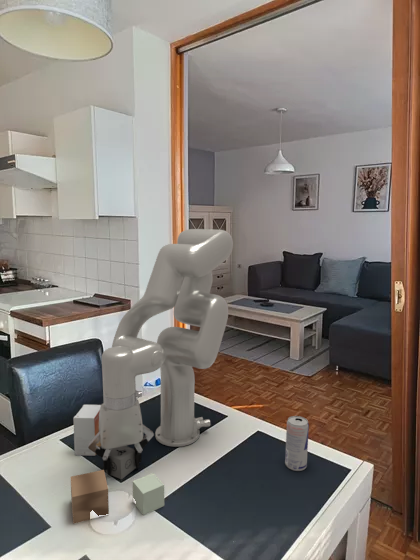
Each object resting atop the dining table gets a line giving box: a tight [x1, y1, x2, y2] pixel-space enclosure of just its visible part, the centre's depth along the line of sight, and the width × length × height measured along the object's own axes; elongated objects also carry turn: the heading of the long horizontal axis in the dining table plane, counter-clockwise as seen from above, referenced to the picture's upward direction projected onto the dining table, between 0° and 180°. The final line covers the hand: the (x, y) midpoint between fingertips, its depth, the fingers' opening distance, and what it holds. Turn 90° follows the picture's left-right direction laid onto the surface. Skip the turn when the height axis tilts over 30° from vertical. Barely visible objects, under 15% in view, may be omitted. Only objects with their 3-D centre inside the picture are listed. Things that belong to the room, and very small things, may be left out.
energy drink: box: [284, 415, 310, 472], centre depth 100 cm, size 5×5×12 cm
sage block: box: [132, 472, 165, 516], centre depth 86 cm, size 5×5×5 cm
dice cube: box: [105, 445, 137, 480], centre depth 97 cm, size 5×5×5 cm
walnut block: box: [70, 469, 110, 525], centre depth 85 cm, size 7×7×6 cm
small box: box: [72, 404, 101, 457], centre depth 107 cm, size 8×6×10 cm
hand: (122, 467), depth 98 cm, fingers closed on dice cube, 6 cm apart
